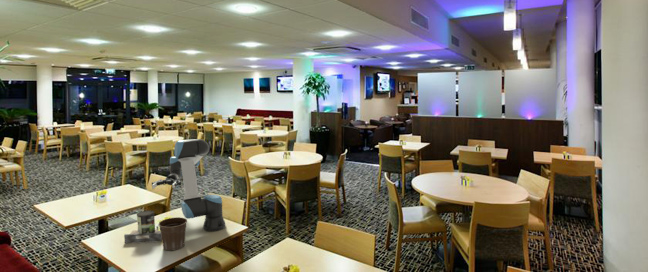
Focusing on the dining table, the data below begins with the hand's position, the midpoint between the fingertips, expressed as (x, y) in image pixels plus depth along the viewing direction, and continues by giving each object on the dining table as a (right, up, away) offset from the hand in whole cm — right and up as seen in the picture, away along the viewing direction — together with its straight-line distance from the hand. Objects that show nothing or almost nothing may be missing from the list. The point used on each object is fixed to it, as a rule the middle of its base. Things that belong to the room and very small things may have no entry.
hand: (162, 186), depth 245 cm
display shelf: (-4, -32, -14) cm, 35 cm away
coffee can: (-4, -29, -15) cm, 33 cm away
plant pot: (+20, -34, -27) cm, 48 cm away
